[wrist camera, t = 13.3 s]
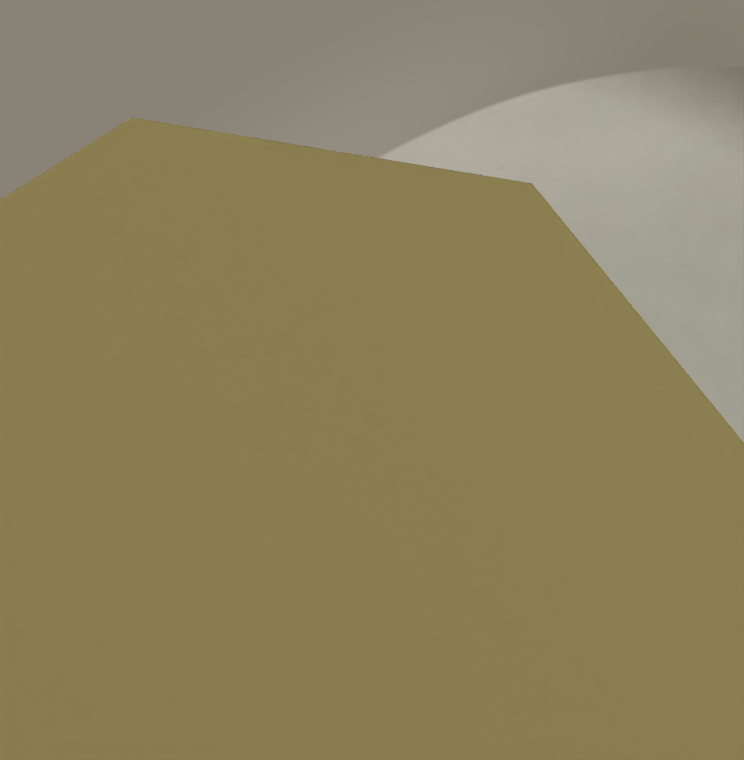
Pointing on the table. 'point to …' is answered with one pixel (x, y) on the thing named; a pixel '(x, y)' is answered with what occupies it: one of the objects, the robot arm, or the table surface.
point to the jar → (346, 472)
